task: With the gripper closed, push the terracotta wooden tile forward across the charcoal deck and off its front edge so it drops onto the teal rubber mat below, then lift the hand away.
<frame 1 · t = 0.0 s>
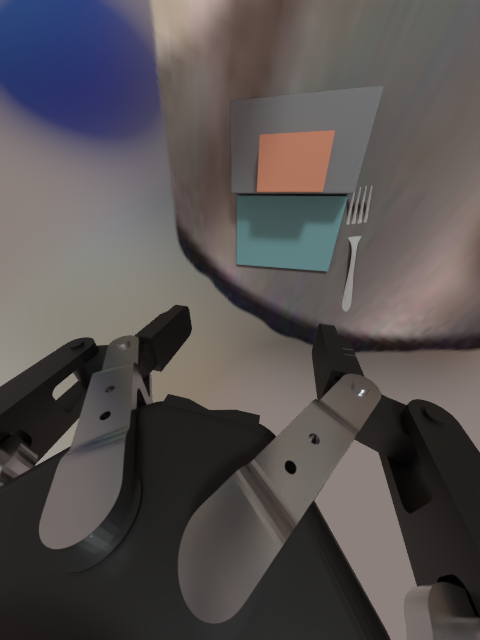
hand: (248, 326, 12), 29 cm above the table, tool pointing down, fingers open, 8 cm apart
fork: (350, 264, 35), on the table
deck: (294, 154, 29), on the table
tile: (292, 165, 26), point 5 cm above the table, touching deck
mat: (284, 234, 35), on the table
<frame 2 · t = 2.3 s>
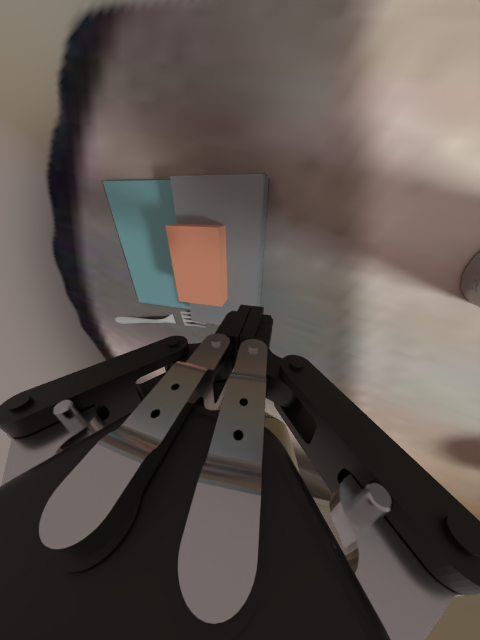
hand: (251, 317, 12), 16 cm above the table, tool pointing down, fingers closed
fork: (154, 317, 37), on the table
plant pot: (271, 425, 45), on the table
deck: (228, 257, 27), on the table
tile: (200, 266, 23), point 5 cm above the table, touching deck
mat: (158, 252, 29), on the table
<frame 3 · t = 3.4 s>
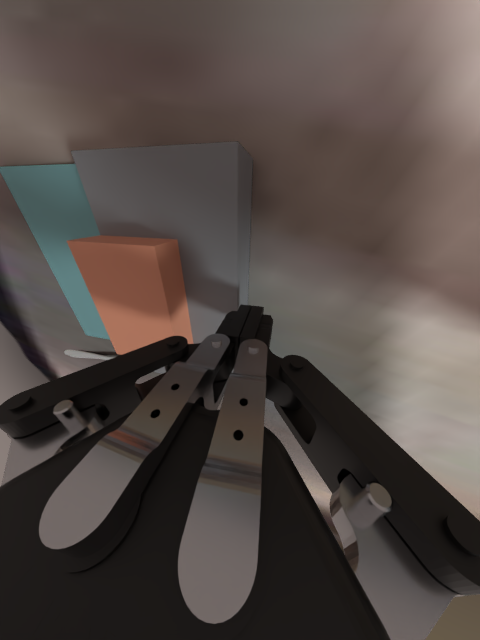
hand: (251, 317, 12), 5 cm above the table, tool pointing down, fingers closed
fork: (110, 352, 28), on the table
deck: (197, 283, 18), on the table
tile: (142, 304, 14), point 5 cm above the table, touching deck
mat: (99, 273, 20), on the table
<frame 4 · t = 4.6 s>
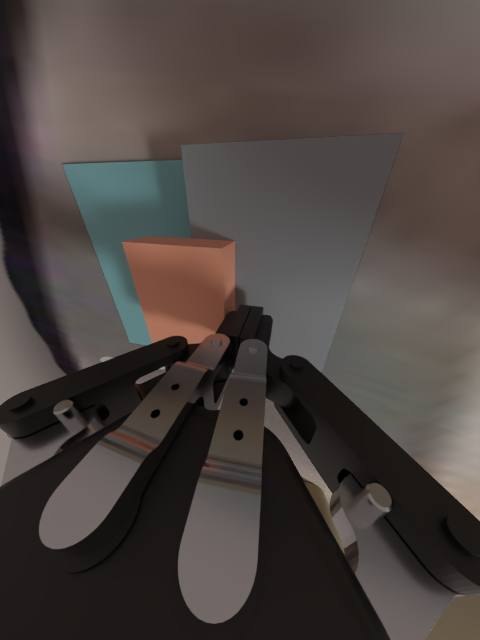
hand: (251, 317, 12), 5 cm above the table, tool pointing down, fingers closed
plant pot: (303, 487, 35), on the table
deck: (270, 289, 17), on the table
tile: (190, 309, 13), point 5 cm above the table, touching deck
mat: (157, 278, 19), on the table
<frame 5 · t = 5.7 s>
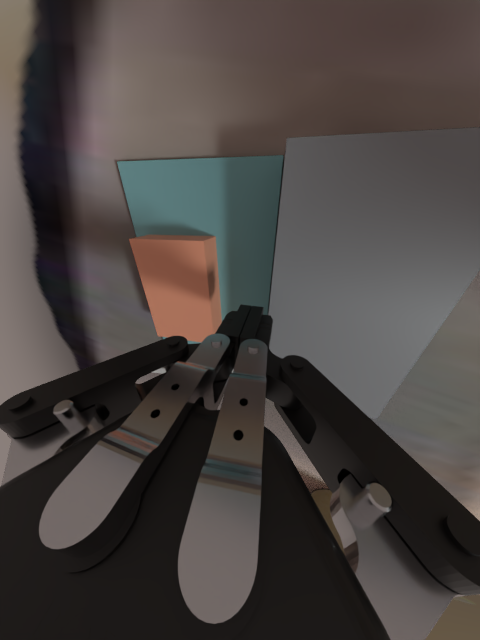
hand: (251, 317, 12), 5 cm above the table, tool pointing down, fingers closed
plant pot: (333, 496, 34), on the table
deck: (334, 296, 15), on the table
tile: (183, 291, 17), point 2 cm above the table, tilted 180°, touching mat
mat: (206, 283, 18), on the table
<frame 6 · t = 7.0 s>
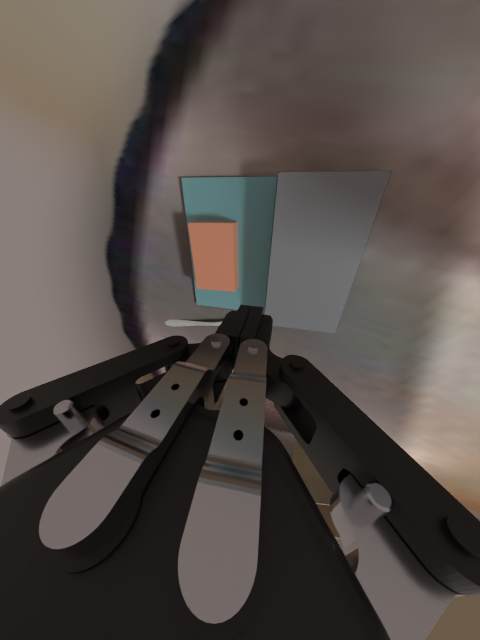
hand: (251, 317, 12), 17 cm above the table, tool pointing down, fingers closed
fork: (208, 320, 36), on the table
plant pot: (318, 428, 45), on the table
deck: (308, 258, 26), on the table
tile: (215, 257, 27), point 2 cm above the table, tilted 180°, touching mat
mat: (229, 253, 28), on the table
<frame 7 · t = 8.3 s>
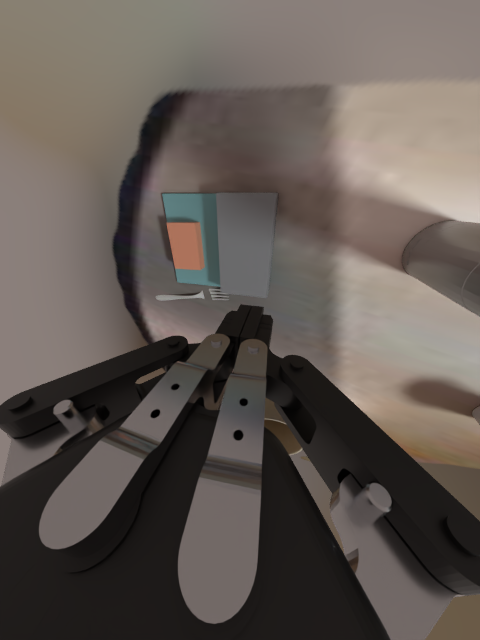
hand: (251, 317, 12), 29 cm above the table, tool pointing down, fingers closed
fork: (186, 295, 49), on the table
plant pot: (276, 383, 57), on the table
deck: (248, 247, 38), on the table
tile: (186, 246, 39), point 2 cm above the table, tilted 180°, touching mat
mat: (196, 244, 40), on the table
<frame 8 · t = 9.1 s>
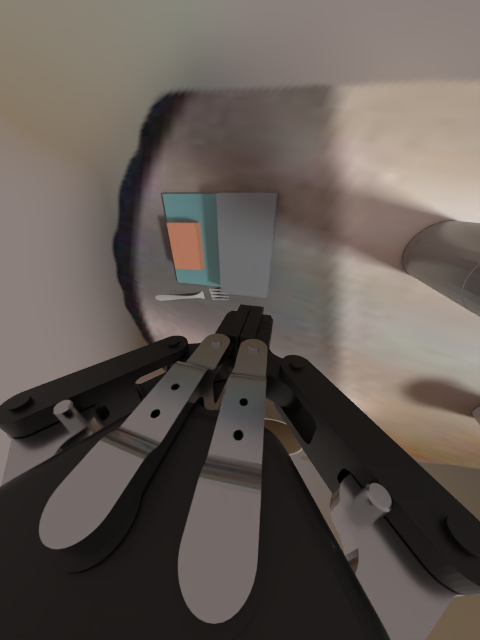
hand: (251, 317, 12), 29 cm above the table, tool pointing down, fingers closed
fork: (187, 295, 49), on the table
plant pot: (276, 383, 57), on the table
deck: (248, 247, 38), on the table
tile: (187, 246, 39), point 2 cm above the table, tilted 180°, touching mat
mat: (197, 244, 40), on the table
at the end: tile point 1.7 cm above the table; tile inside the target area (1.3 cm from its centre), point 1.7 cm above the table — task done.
